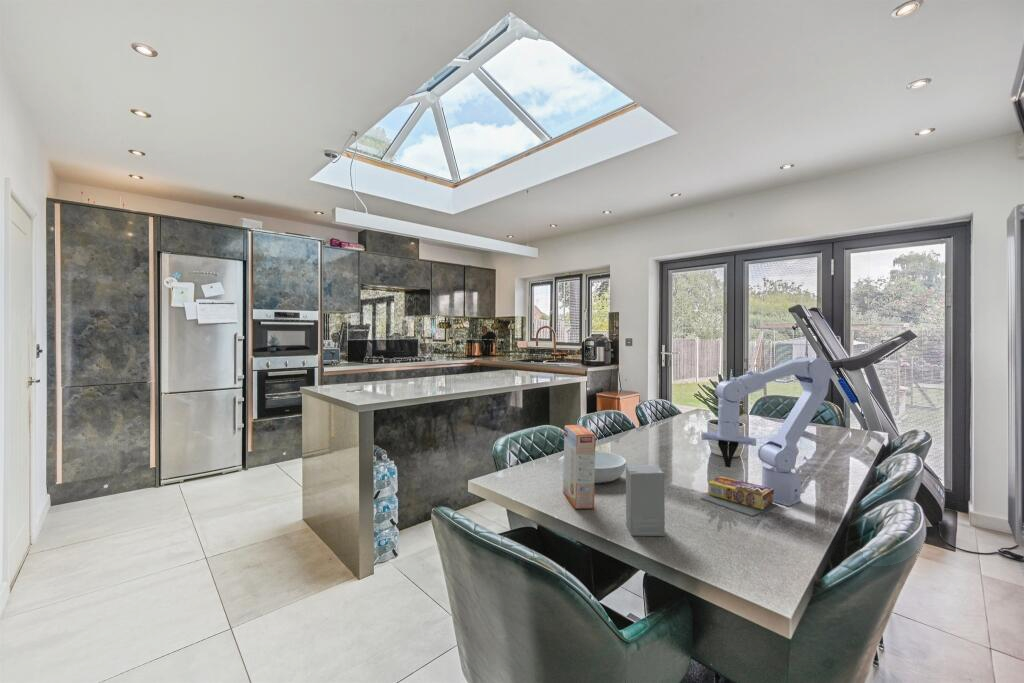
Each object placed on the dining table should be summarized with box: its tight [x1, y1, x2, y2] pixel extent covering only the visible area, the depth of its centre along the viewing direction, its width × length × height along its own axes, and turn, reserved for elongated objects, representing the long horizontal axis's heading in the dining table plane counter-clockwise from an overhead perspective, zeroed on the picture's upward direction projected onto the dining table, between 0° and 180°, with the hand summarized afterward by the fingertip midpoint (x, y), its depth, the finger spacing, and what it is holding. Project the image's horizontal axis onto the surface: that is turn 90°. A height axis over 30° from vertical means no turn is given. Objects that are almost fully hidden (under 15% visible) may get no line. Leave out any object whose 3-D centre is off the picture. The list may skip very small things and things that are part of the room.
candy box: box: [707, 476, 775, 510], centre depth 128 cm, size 9×4×15 cm
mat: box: [700, 495, 779, 517], centre depth 126 cm, size 15×14×1 cm
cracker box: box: [562, 424, 596, 510], centre depth 126 cm, size 14×6×21 cm, turn 7°
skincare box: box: [625, 464, 666, 537], centre depth 106 cm, size 8×7×16 cm
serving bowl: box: [562, 450, 627, 484], centre depth 146 cm, size 21×21×7 cm
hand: (727, 466), depth 130 cm, fingers closed
